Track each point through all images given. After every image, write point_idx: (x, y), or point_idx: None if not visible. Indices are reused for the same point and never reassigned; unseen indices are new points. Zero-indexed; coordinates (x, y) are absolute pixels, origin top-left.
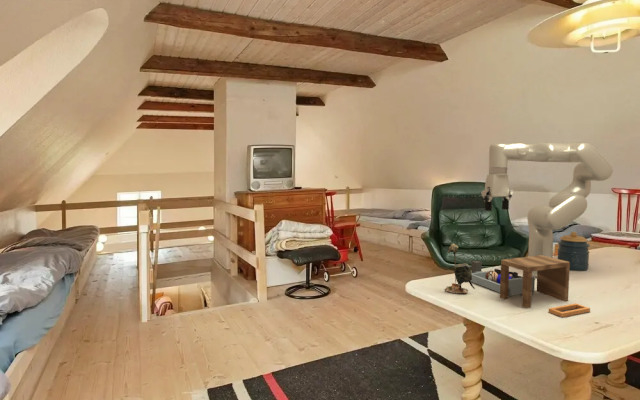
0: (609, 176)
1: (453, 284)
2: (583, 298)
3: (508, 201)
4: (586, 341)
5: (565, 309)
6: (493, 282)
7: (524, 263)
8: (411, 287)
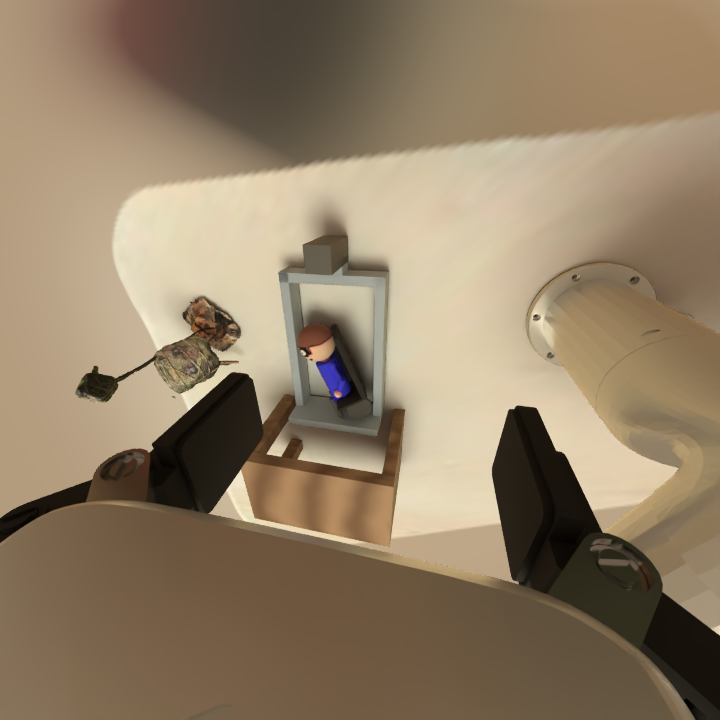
0: None
1: (197, 323)
2: (445, 472)
3: (529, 585)
4: None
5: None
6: (293, 369)
7: (270, 501)
8: (113, 247)
